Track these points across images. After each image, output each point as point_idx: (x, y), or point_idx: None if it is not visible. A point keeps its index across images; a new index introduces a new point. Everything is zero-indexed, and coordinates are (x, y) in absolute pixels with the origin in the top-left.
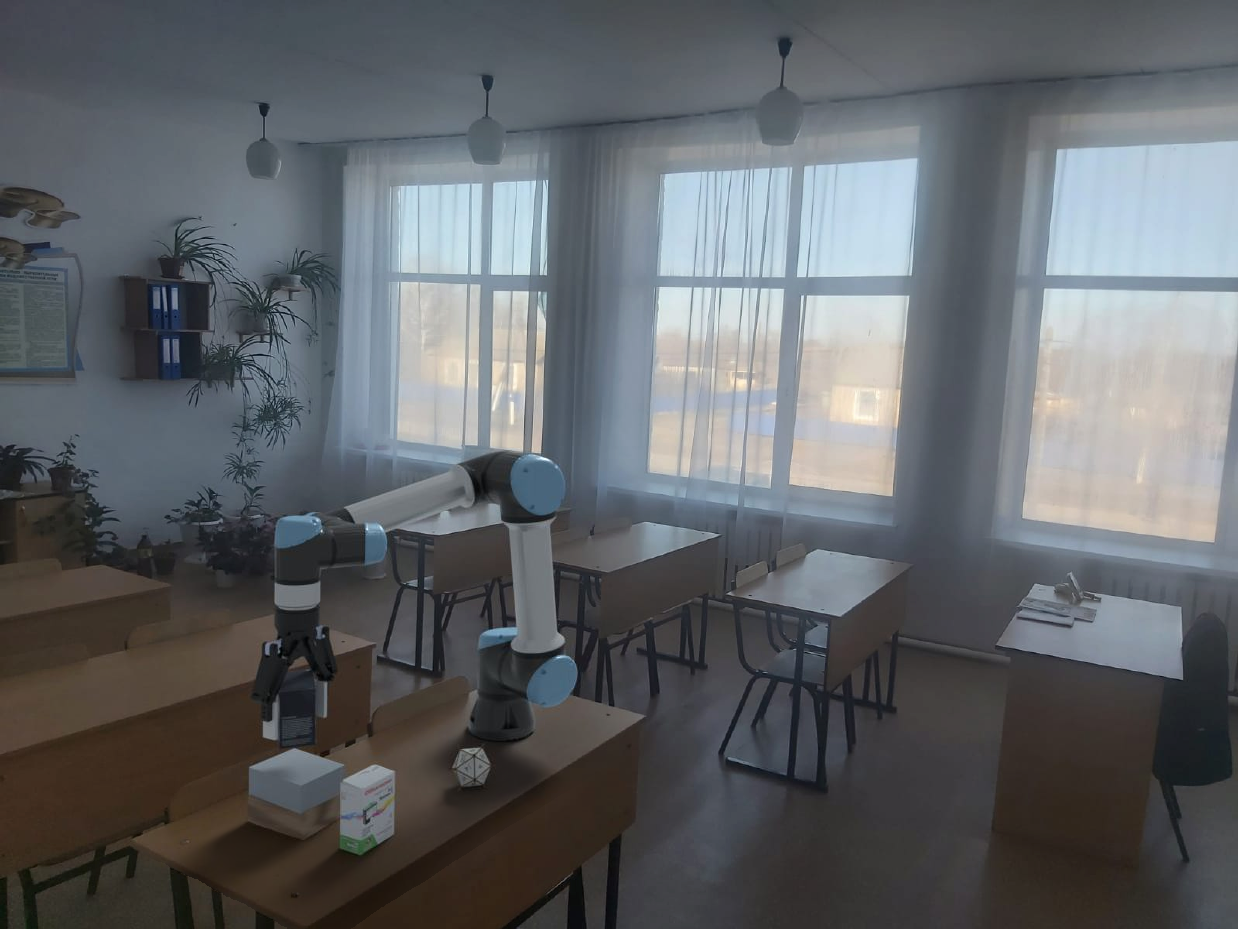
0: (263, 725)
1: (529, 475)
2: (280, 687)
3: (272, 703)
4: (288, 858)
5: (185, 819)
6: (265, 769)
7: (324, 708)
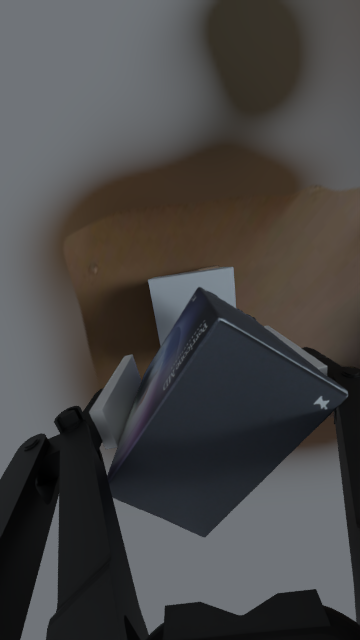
0: (116, 369)
1: None
2: (120, 474)
3: (102, 438)
4: (147, 363)
5: (111, 220)
6: (160, 304)
7: None
